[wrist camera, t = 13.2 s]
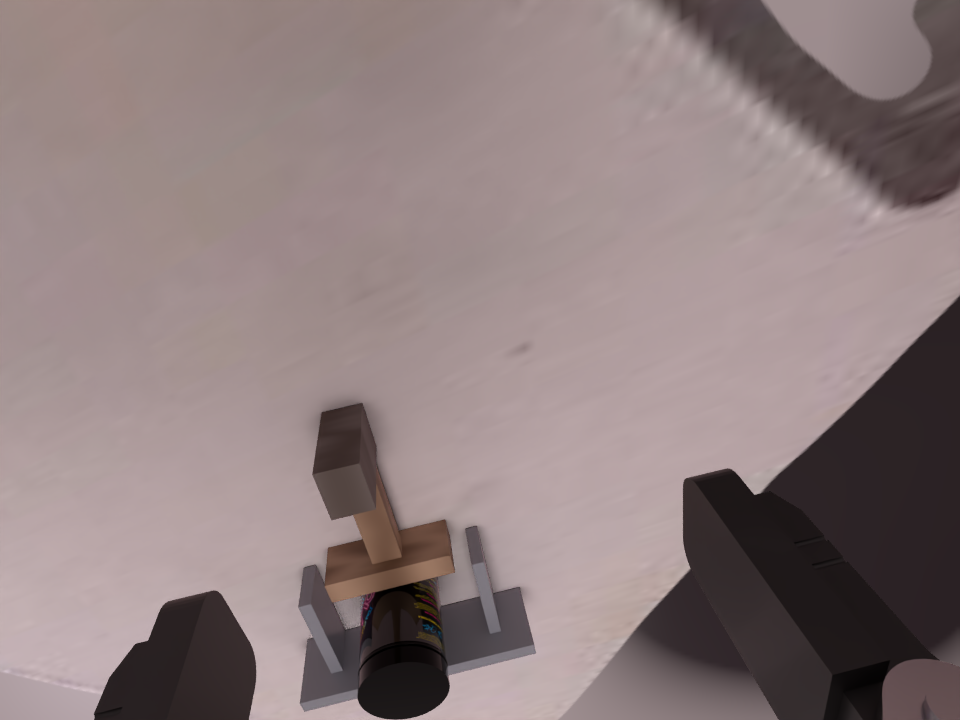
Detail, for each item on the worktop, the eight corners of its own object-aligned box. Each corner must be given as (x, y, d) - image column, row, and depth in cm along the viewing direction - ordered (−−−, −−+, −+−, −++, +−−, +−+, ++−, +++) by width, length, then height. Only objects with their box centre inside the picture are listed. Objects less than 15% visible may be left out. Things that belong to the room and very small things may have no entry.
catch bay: (311, 647, 55) (304, 711, 49) (274, 574, 50) (262, 637, 45) (521, 595, 56) (535, 653, 50) (505, 519, 51) (519, 574, 45)
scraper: (335, 563, 50) (329, 635, 44) (274, 423, 43) (257, 487, 37) (449, 535, 51) (459, 603, 45) (408, 392, 43) (413, 450, 37)
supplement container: (383, 541, 50) (384, 653, 41) (451, 563, 52) (467, 673, 43) (347, 593, 52) (340, 710, 43) (415, 612, 55) (422, 726, 46)
